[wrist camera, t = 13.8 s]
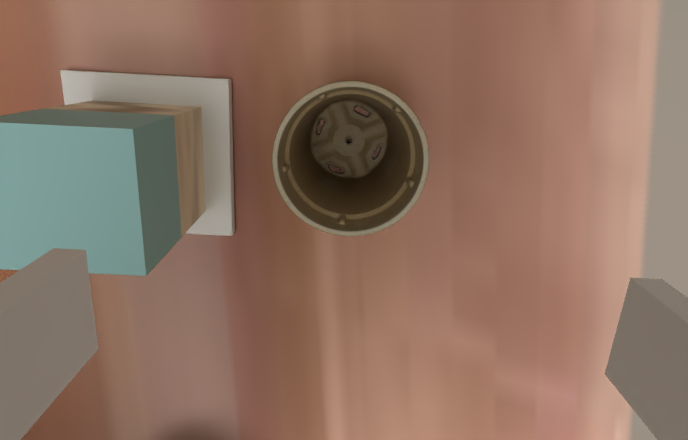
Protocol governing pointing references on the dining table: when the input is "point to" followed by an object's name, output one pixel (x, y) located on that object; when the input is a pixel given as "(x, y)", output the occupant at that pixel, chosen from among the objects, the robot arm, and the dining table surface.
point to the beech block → (186, 149)
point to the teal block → (89, 188)
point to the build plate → (187, 93)
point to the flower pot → (350, 159)
